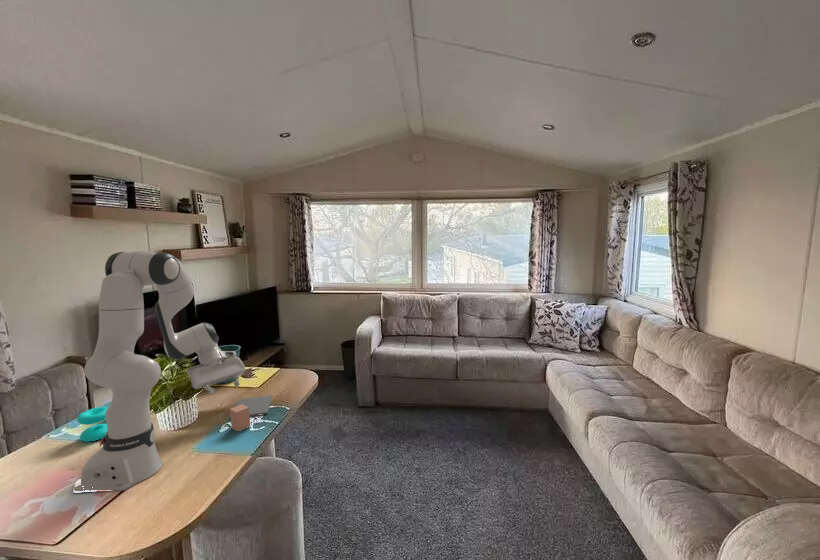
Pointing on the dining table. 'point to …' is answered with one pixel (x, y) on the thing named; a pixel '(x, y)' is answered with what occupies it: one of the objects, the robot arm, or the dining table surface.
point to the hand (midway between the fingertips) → (225, 389)
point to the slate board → (256, 404)
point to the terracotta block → (239, 417)
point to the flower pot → (237, 350)
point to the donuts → (92, 418)
